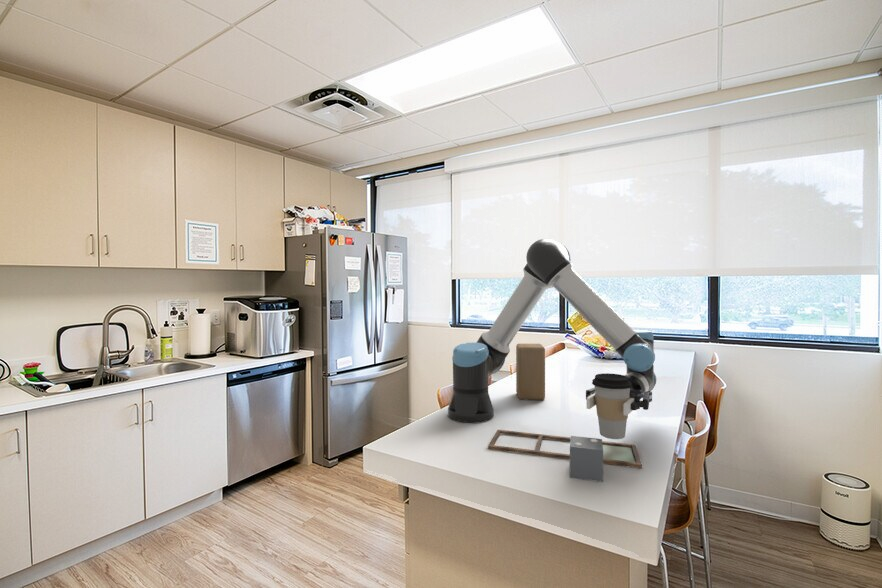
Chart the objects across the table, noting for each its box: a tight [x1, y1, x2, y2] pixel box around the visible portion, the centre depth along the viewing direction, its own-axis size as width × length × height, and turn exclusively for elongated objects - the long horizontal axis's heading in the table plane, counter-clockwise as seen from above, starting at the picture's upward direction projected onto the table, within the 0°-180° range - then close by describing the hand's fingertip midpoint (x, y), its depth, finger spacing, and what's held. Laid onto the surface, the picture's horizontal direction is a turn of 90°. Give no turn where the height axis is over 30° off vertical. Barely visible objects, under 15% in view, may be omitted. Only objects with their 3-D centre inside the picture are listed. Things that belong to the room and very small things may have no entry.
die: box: [569, 435, 604, 483], centre depth 95 cm, size 7×7×7 cm
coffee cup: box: [591, 372, 632, 440], centre depth 105 cm, size 9×9×15 cm
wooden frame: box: [487, 429, 643, 469], centre depth 110 cm, size 37×13×1 cm, turn 71°
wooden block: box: [515, 343, 546, 401], centre depth 159 cm, size 10×10×20 cm
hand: (606, 406), depth 102 cm, fingers closed on coffee cup, 8 cm apart
